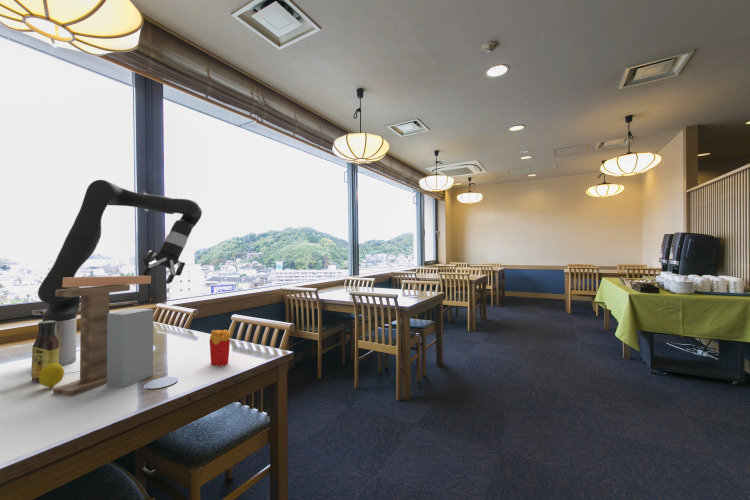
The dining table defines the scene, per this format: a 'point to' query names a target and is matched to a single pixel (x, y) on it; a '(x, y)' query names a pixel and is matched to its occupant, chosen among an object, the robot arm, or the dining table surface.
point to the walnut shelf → (91, 336)
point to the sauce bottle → (44, 348)
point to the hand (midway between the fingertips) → (156, 280)
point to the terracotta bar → (105, 281)
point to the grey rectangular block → (129, 346)
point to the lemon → (51, 374)
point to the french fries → (219, 347)
